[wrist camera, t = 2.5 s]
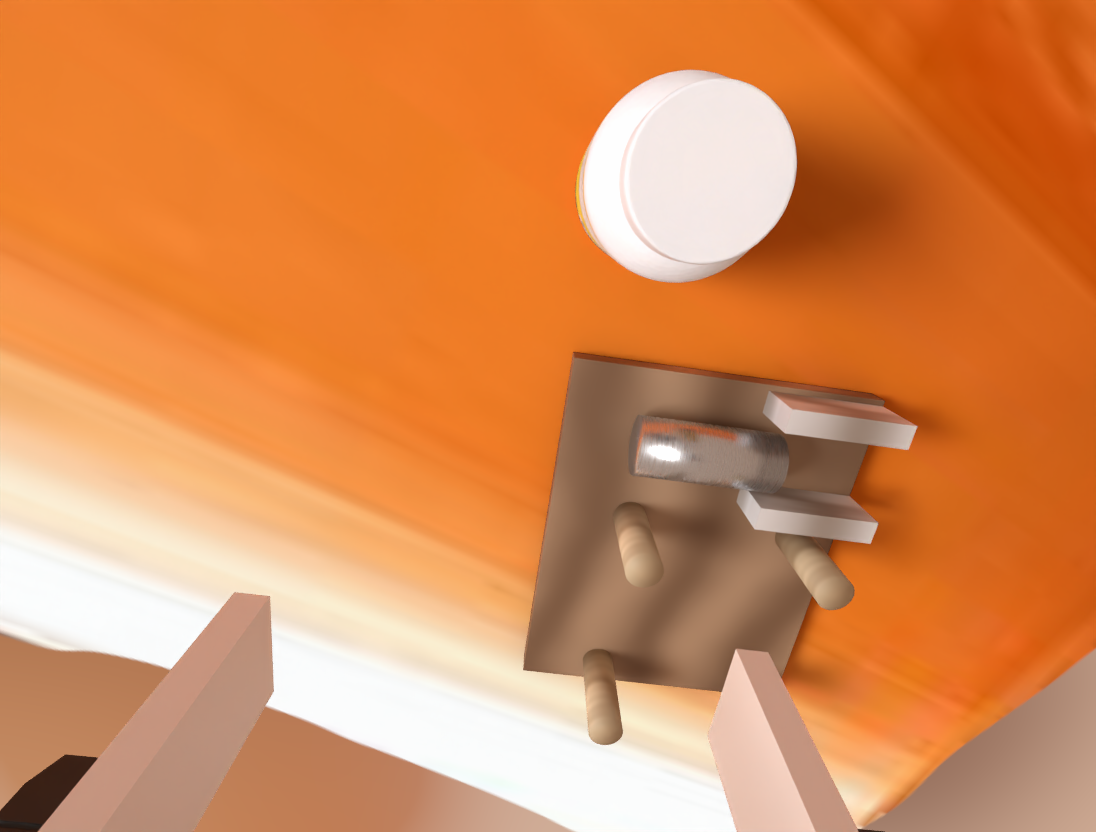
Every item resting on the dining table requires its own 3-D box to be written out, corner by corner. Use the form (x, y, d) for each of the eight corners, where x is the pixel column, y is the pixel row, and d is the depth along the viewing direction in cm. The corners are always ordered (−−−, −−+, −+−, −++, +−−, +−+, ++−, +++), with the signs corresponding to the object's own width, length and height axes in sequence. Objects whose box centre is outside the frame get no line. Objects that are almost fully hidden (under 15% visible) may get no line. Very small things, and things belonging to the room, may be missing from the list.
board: (524, 655, 35) (519, 743, 29) (573, 352, 28) (580, 387, 23) (767, 682, 36) (809, 772, 30) (871, 393, 29) (953, 438, 23)
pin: (625, 459, 29) (633, 486, 26) (636, 406, 28) (646, 428, 25) (754, 476, 29) (777, 504, 26) (770, 424, 28) (795, 447, 25)
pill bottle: (740, 167, 25) (887, 133, 14) (658, 289, 27) (733, 339, 16) (624, 82, 24) (688, -26, 13) (546, 215, 26) (547, 217, 15)
